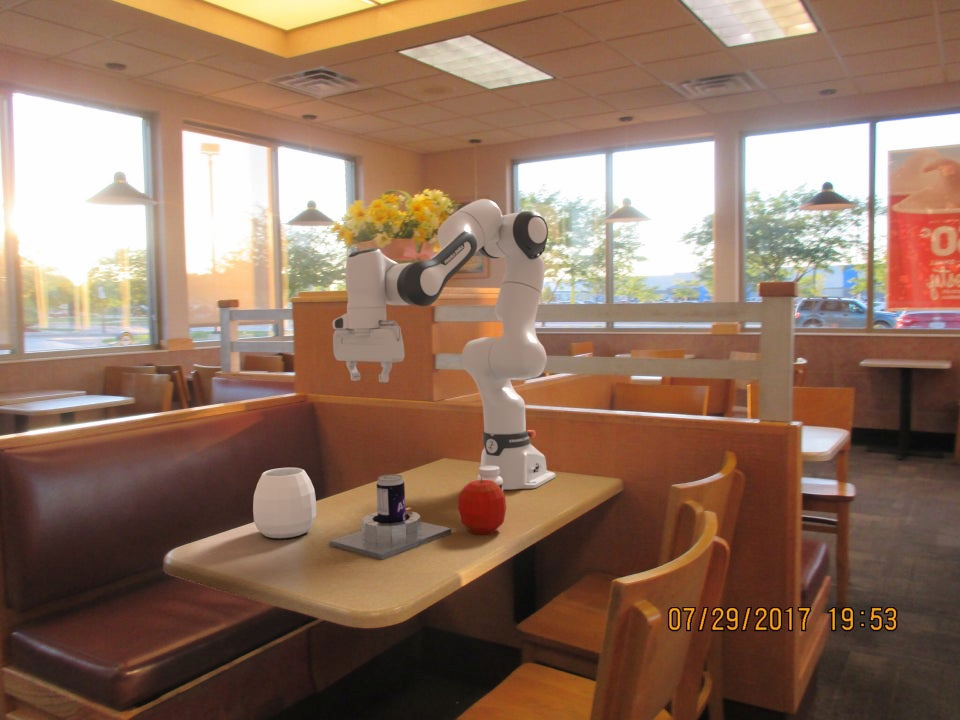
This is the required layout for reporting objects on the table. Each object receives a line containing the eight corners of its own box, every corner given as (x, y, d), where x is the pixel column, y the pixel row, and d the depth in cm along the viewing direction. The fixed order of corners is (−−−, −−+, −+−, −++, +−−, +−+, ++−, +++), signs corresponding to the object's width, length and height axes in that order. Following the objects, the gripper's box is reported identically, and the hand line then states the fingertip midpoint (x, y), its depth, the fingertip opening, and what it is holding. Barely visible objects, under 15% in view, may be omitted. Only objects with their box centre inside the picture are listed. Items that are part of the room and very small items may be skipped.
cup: (294, 545, 153) (291, 480, 152) (241, 540, 158) (237, 477, 157) (329, 527, 165) (326, 466, 164) (278, 522, 170) (275, 463, 169)
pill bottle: (476, 519, 168) (475, 471, 167) (475, 512, 174) (474, 465, 173) (504, 518, 168) (503, 470, 167) (502, 511, 174) (501, 464, 173)
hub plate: (400, 521, 168) (399, 498, 168) (451, 533, 158) (450, 508, 158) (330, 545, 152) (329, 519, 152) (381, 559, 143) (380, 532, 143)
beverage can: (401, 539, 152) (399, 480, 151) (374, 538, 153) (372, 480, 152) (409, 530, 158) (407, 474, 157) (383, 530, 159) (381, 473, 158)
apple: (501, 522, 165) (500, 470, 164) (511, 536, 155) (510, 480, 155) (456, 526, 164) (454, 473, 163) (462, 540, 154) (461, 484, 153)
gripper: (409, 319, 167) (412, 381, 168) (348, 320, 180) (350, 378, 181) (389, 320, 162) (391, 384, 163) (327, 321, 175) (330, 380, 176)
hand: (369, 381), depth 172 cm, fingers open, 8 cm apart
